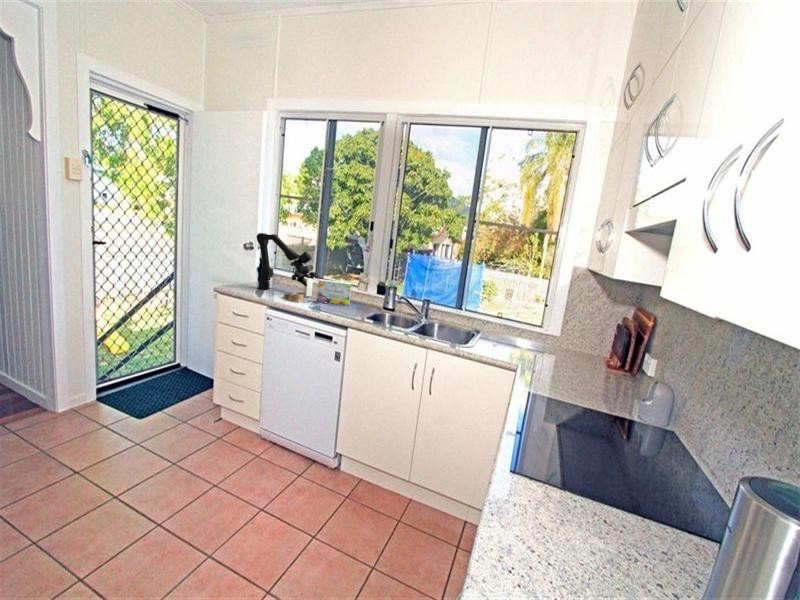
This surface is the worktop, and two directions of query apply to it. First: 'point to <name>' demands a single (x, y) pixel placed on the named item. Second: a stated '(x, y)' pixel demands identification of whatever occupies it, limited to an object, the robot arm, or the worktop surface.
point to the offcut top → (297, 296)
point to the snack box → (334, 292)
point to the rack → (291, 293)
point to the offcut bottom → (296, 300)
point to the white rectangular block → (308, 287)
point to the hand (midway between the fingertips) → (309, 286)
